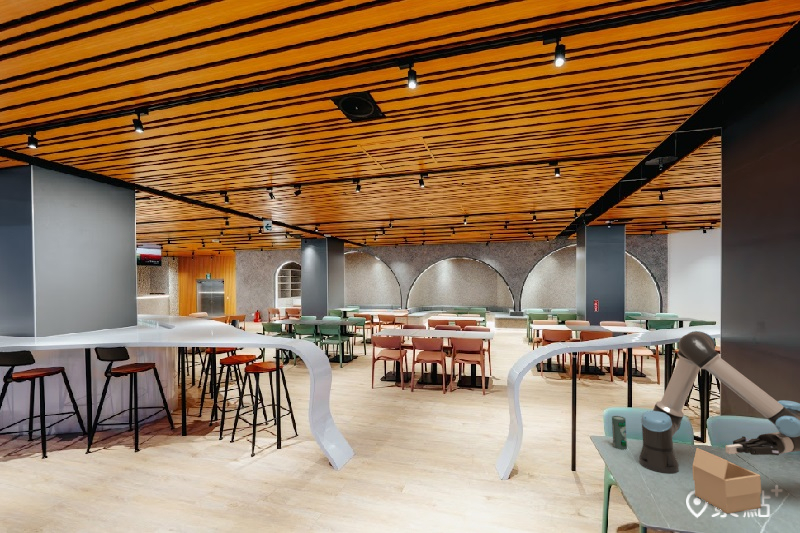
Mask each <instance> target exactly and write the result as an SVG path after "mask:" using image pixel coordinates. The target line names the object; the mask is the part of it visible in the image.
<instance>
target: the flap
mask: <svg viewBox="0 0 800 533" xmlns="http://www.w3.org/2000/svg"><path fill="white" fill-rule="evenodd" d="M728 462H729V460H727V459H725V458H722V457H720V456H718V455H716V454H713V453H710V452H708V451H706V450H704V449H701V448H698V447H696V449H695V454H694V458H693V462H692V465H694V466H696V467H698V468H700V469H702V470H704V471H706V472H708V473H711V474H713V475H715V476H717V477H719V478H721V479H723V480H725V475H726V470H727V466H728Z"/></svg>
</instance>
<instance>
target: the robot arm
mask: <svg viewBox="0 0 800 533" xmlns="http://www.w3.org/2000/svg"><path fill="white" fill-rule="evenodd" d="M715 349H716V342H715V339H714V338H713V337H712V336H711V335H709V334H708V333H707V332H704V331H697V330H695V331H691V332H688V333H686V334H685V335H683V336H682V337H681V338H680V339H679V342H678V351H677V356H678V361H677V364H676V366H675V368H674V370H673V372H672V374H671V377H670V379H669V382H668V383H667V386H666V389H665V390H664V394H663V395H662V399H661V400H659V401H656V402H655V405H654V407H653V409H652V410H649V411H648V410H647V411H644V412H643V413H642V415H641V419H640V421H641V434H642V448H641V451H640V454H639V458H638V459H639V464H640V465H641V466H643V467H645V468H646V469H648V470H651V471H654V472H658V473H663V474H674V473H677V472H679V470H680V468H679V465H680V464H679V462H678V460H677V457H676V455H675V452H674V444H673V443H674V442H673V436H674V435H675V434H676V433H677V432H678V431H679V430H680V428H681V423H682V421H683V418H684V416H685V414H684V412H683V411H682V410H683V408H684V406H685V403H686V401H687V399H688V397H689V394H690V393H691V390H692V388H693V386H694V383H695V381H696V378H697V376H698V374H699V372H700V370H706V371H707V372H708V373H709V374H711V375H712V376H713V377H715V378H716V379H718V380H719V382H721V383H722V384H723V385H724V386H726V387H727V388H729V390H731V391H732V392H733V393H735V394H736V395H737V396H738V397H739V398H741V399H742V400H743V401H744V402H746V403H747V404H748V405H750V406H751V407H752V408H754V409H755V410H756V411H757V412H759V413H760V414H761V415H762V416H763V417H765V418H766V419H767V420H768V421H770V423H772V424H773V425H774V426H775V427H776V429H777V430H778V432H777V431H776V432H770V433H769V432H768V433H764V434H759V435H758V436H757V437H755V438H751V439H748V437H746V436H741V437H740V438H738V439H735V440H732V444H727V445H725V453H726V454H728V455H735V454H741V453H745V454H750V455H751V456H771V455H773V456H780V455H782V454H786V453H787V454H788V453H793V452H794V453H795V452H800V402H798V401H797V402H796V401H792V400H784V399H783V400H776V399H774V397H772V396H771V395H769V394H768V393H767V392H766V391H764V390H763V389H762V388H760V387H759V386H758V385H756V384H755V383H754V382H753V381H751V380H750V379H748V378H747V377H746V376H745V375H743V374H742V373H741V372H739V371H738V370H737V369H736V368H734V366H732V365H730V364H729V363H728V362H727V361H725V360H724V359H723V358H721V355H720V353H719V351H717V350H715Z"/></svg>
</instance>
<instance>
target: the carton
mask: <svg viewBox="0 0 800 533" xmlns="http://www.w3.org/2000/svg"><path fill="white" fill-rule="evenodd" d="M691 465H692V479H693V481H694V495H695V496H694V497H696V496H697V497H696V498H698V497H699V498H698V499H700V498H701V499H703V500H705V501H706V502H705V501H704V502H705V503H707V502H708V503H707V504H709V505H710V504H712V505H713V506H712V505H711V506H712V507H714V506H715V508H716V507H717V508H716V509H718V508H719V509H721V510H722V511H721V510H720V511H721V512H723V513H725V514H733V513H739V512H744V511H750V510H751V511H752V510H755V509H757V510H758V509H760V508H762V504H761V494H762V481H761V475H760V474H759V473H757V472H755V471H752V470H749V469H747V468H744V467H742V466H741V465H740V466H739V465H737V464H735V463H733V462H730V461H728V466H727V470H726V475H725V480H723V479H721V478H719V477H717V476H715V475H713V474H711V473H708V472H706V471H704V470H702V469H700V468H698V467H696V466H694V465H693V464H691ZM701 499H700V500H701ZM703 500H702V501H703ZM719 509H718V510H719Z"/></svg>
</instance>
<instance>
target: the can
mask: <svg viewBox="0 0 800 533" xmlns="http://www.w3.org/2000/svg"><path fill="white" fill-rule="evenodd" d="M626 420H627V419H626V417H624V416H621V415H613V416H611V424H612V425H611V427H612V446H613V448H615V449H617V450H622V451H624V449H625V450H627V449H628V443H627V441H628V439H627V426H626V425H627V422H626Z"/></svg>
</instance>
